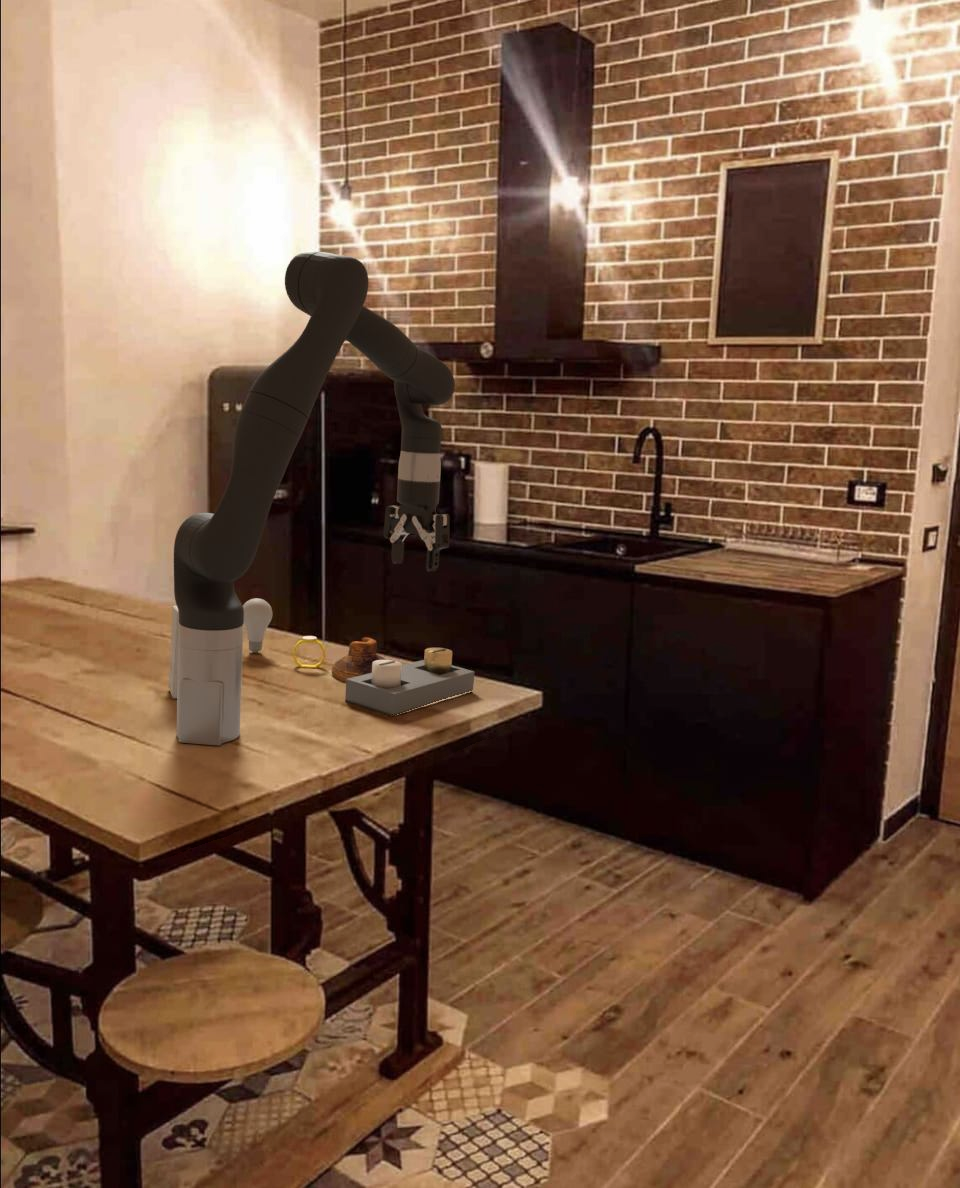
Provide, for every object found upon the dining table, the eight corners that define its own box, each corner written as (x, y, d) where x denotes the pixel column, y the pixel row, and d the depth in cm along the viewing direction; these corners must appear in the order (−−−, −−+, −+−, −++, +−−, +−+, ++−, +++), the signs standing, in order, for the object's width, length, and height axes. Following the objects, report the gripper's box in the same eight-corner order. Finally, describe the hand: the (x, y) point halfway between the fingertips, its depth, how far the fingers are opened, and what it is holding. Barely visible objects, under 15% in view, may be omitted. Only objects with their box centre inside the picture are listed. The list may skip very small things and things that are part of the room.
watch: (293, 669, 191) (291, 639, 190) (294, 666, 194) (293, 635, 193) (325, 669, 192) (324, 638, 191) (325, 665, 195) (324, 635, 194)
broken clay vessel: (356, 689, 182) (358, 650, 180) (319, 672, 190) (321, 635, 189) (407, 680, 190) (409, 643, 188) (369, 665, 198) (371, 629, 197)
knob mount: (393, 717, 167) (394, 693, 166) (345, 701, 173) (346, 679, 173) (472, 692, 185) (474, 671, 184) (426, 679, 191) (428, 658, 190)
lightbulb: (267, 657, 197) (269, 602, 195) (236, 655, 197) (237, 600, 195) (273, 650, 203) (276, 596, 201) (243, 647, 203) (245, 594, 201)
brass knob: (439, 677, 181) (440, 655, 180) (417, 671, 183) (419, 649, 183) (456, 672, 185) (457, 651, 184) (435, 667, 187) (436, 645, 187)
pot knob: (386, 692, 169) (388, 668, 169) (365, 685, 172) (366, 661, 171) (406, 686, 173) (407, 663, 173) (384, 680, 176) (386, 657, 175)
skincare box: (172, 699, 167) (174, 612, 164) (168, 689, 173) (169, 604, 170) (223, 697, 171) (226, 611, 168) (218, 687, 176) (220, 603, 173)
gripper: (462, 481, 178) (457, 571, 181) (405, 473, 187) (400, 559, 190) (433, 482, 173) (428, 575, 176) (376, 473, 181) (371, 562, 185)
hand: (414, 567), depth 183 cm, fingers open, 8 cm apart
